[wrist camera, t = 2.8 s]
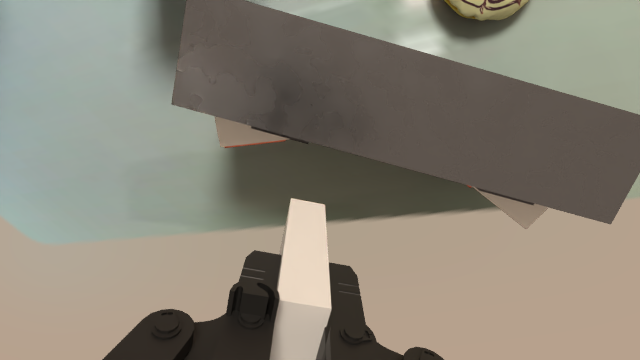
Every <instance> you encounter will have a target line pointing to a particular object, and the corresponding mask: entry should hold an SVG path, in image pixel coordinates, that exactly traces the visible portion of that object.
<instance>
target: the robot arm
mask: <svg viewBox="0 0 640 360" xmlns="http://www.w3.org/2000/svg"><path fill="white" fill-rule="evenodd" d="M327 247H328V246H327V229H326V213H325V205H324V204H319V203H314V202H309V201H303V200H298V199H293V198H291V201H290V205H289V210H288V215H287V220H286V225H285V230H284V235H283V240H282V244H281V249H280V254H279V255H278V254H272V253H266V252H260V251H253V252H252V253H251V254H250V255H248V256H247V257H246V260H245V263H244V266H243V269H242V273H241V276H240V279H239V282H238V283H236V284H234V285H233V287H232V288H231V290H230V294H229V299H228V306H227V312H226V314H224V315H223V316H221V317H219V318H217V319H214V320H211V321H205V322H195V323H194V321H193V320H192V318H191V317H190V316H189V315H188V314H186V313H184V312H183V311H179V310H174V309H166V310H160V311H157V312H154V313H151V314H150V315H148V316H147V317H145V318H144V319H143V320H142V321H141V322H140V323H139V324H138V325H137V326H136V327H135V328H134V329H133V330H132V331H131V332H130V333H129V334H128V335H127V336H126V337H125V338H124V339H123V340H122V341H121V342H120V343H119V344H118V345H117V346H116V347H115V348H114V349H113V350H112V351H111V352H110V353H109V354H108V355H107V356H106V357H105V358H104V359H103V360H444V359H443V358H442V357H440V356H439V355H438V354H436V353H435V352H433V351H431V350H428V349H426V348H420V347H414V348H410V349H408V350H407V351H406V352H405V354H404V356H403V355H401V354H398V353H396V352H394V351H391V350H389V349H387V348H385V347H383V346H382V345H380V344H379V343H377V342H376V338H375V336H374V334H373V332H372V331H371V330H370V328H369V327H368V326H367V325H366V323H365V318H364V312H363V307H362V301H361V296H360V289H359V284H358V278H357V275H356V274H355V272H354V271H353V270H352V268H351V267H350V266H346V265H340V264H334V263H329V262H328V248H327Z"/></svg>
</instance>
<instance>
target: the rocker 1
mask: <svg viewBox="0 0 640 360" xmlns="http://www.w3.org/2000/svg"><path fill="white" fill-rule="evenodd" d="M215 122H216V127H217V132H218V137H219V142H220V147H225V148H229V147H237V146H246V145H255V144H264V143H273V142H282V141H286V140H288V138H284V137H281V136H277V135H273V134H270V133H266V132H262V131H259V130H255V129H251V126H249V125H245V124H242V123H238V122H234V121H231V120H227V119H223V118H220V117H215Z"/></svg>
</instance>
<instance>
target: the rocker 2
mask: <svg viewBox="0 0 640 360" xmlns="http://www.w3.org/2000/svg"><path fill="white" fill-rule="evenodd" d="M467 186H468V187H470V188H471V187H472V186H469V185H467ZM473 188H474V189H476V190H477V191H478V192H479V193H481V194H482V195H483V196H484V197H486V198H487V199H488V200H490V201H491V202H492V203H493V204H495V205H496V206H497V207H498V208H500V209H501V210H502V211H503V212H505V213H506V214H507V215H509V216H510V217H511V218H512V219H513V220H515V221H516V222H517V223H519V224H520V225H521V226H522V227H524V228H525V229H527V228H528V227H529V226H530V225H531V224H532V223H533V222H534V221H535V220H536V219H537V218H538V217H539V216H540V215H542V214H543V213H544V212H545V211H546V210H547V207H545V206H542V205H538V204H534V206H533V205H530V204H526V203H522V202H519V201H515V200H511V199H508V198H504V197H500V196H497V195H493V194H489V193H486V192H482V191H479V190H478V189H477V188H476V187H473Z"/></svg>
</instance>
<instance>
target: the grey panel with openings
mask: <svg viewBox="0 0 640 360" xmlns="http://www.w3.org/2000/svg"><path fill="white" fill-rule="evenodd" d="M172 105H176V106H179V107H183V108H187V109H190V110H194V111H198V112H201V113H205V114H209V115H212V116H216V117H220V118H223V119H227V120H231V121H234V122H238V123H242V124H245V125H249V126H251V129H255V130H259V131H262V132H266V133H270V134H273V135H277V136H281V137H284V138H288V139H292V140H295V141H299V142H303V143H306V144H308V143H309V142H311V143H315V144H318V145H322V146H326V147H329V148H333V149H337V150H340V151H344V152H348V153H351V154H355V155H359V156H362V157H366V158H370V159H373V160H377V161H381V162H384V163H388V164H392V165H395V166H399V167H403V168H406V169H410V170H414V171H417V172H421V173H425V174H428V175H432V176H436V177H439V178H443V179H447V180H450V181H454V182H458V183H461V184H465V185H469V186H472V187H476V188H477V189H478V190H479V191H482V192H486V193H489V194H493V195H497V196H500V197H504V198H508V199H511V200H515V201H519V202H522V203H526V204H530V205H533V206H534V204H538V205H542V206H545V207H550V208H553V209H556V210H560V211H564V212H567V213H571V214H575V215H579V216H582V217H586V218H589V219H593V220H597V221H600V222H604V223H608V224H611V223H612V221H613V220H614V218H615V216H616V214H617V212H618V211H619V209H620V207H621V205H622V203H623V202H624V200H625V198H626V196H627V194H628V193H629V191H630V189H631V187H632V185H633V184H634V182H635V180H636V178H637V176H638V175H639V173H640V115H638V114H635V113H631V112H628V111H624V110H621V109H618V108H614V107H611V106H607V105H604V104H600V103H597V102H593V101H590V100H586V99H583V98H579V97H576V96H573V95H569V94H566V93H562V92H559V91H555V90H552V89H548V88H545V87H541V86H538V85H534V84H531V83H528V82H524V81H521V80H517V79H514V78H510V77H507V76H503V75H500V74H496V73H493V72H489V71H486V70H483V69H479V68H476V67H472V66H469V65H465V64H462V63H458V62H455V61H451V60H448V59H444V58H441V57H438V56H434V55H431V54H427V53H424V52H420V51H417V50H413V49H410V48H406V47H403V46H399V45H396V44H393V43H389V42H386V41H382V40H379V39H375V38H372V37H368V36H365V35H361V34H358V33H354V32H351V31H348V30H344V29H341V28H337V27H334V26H330V25H327V24H323V23H320V22H316V21H313V20H309V19H306V18H303V17H299V16H296V15H292V14H289V13H285V12H282V11H278V10H275V9H271V8H268V7H264V6H261V5H258V4H254V3H251V2H247V1H244V0H186V7H185V14H184V21H183V28H182V35H181V42H180V49H179V55H178V62H177V69H176V76H175V83H174V90H173V97H172Z"/></svg>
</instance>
